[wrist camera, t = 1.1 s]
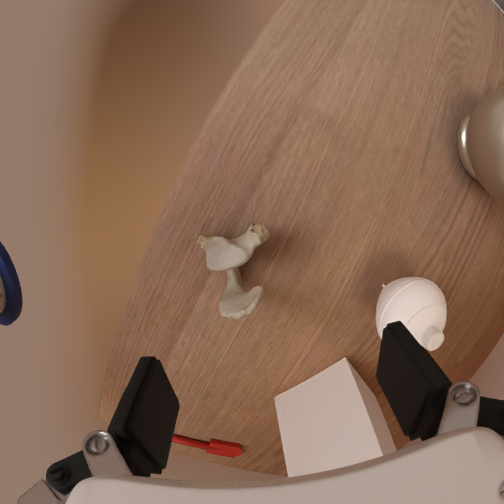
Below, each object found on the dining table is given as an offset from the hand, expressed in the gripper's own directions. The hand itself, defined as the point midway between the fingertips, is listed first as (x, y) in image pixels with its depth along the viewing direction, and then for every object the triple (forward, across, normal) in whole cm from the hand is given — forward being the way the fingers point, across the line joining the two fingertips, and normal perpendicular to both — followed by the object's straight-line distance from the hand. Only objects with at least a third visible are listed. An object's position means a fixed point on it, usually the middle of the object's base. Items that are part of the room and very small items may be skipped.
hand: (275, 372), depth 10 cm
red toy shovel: (+18, +17, +33) cm, 42 cm away
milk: (+19, -7, +25) cm, 32 cm away
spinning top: (+19, -14, +7) cm, 24 cm away
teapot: (+19, -30, -10) cm, 37 cm away
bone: (+19, +3, 0) cm, 19 cm away
